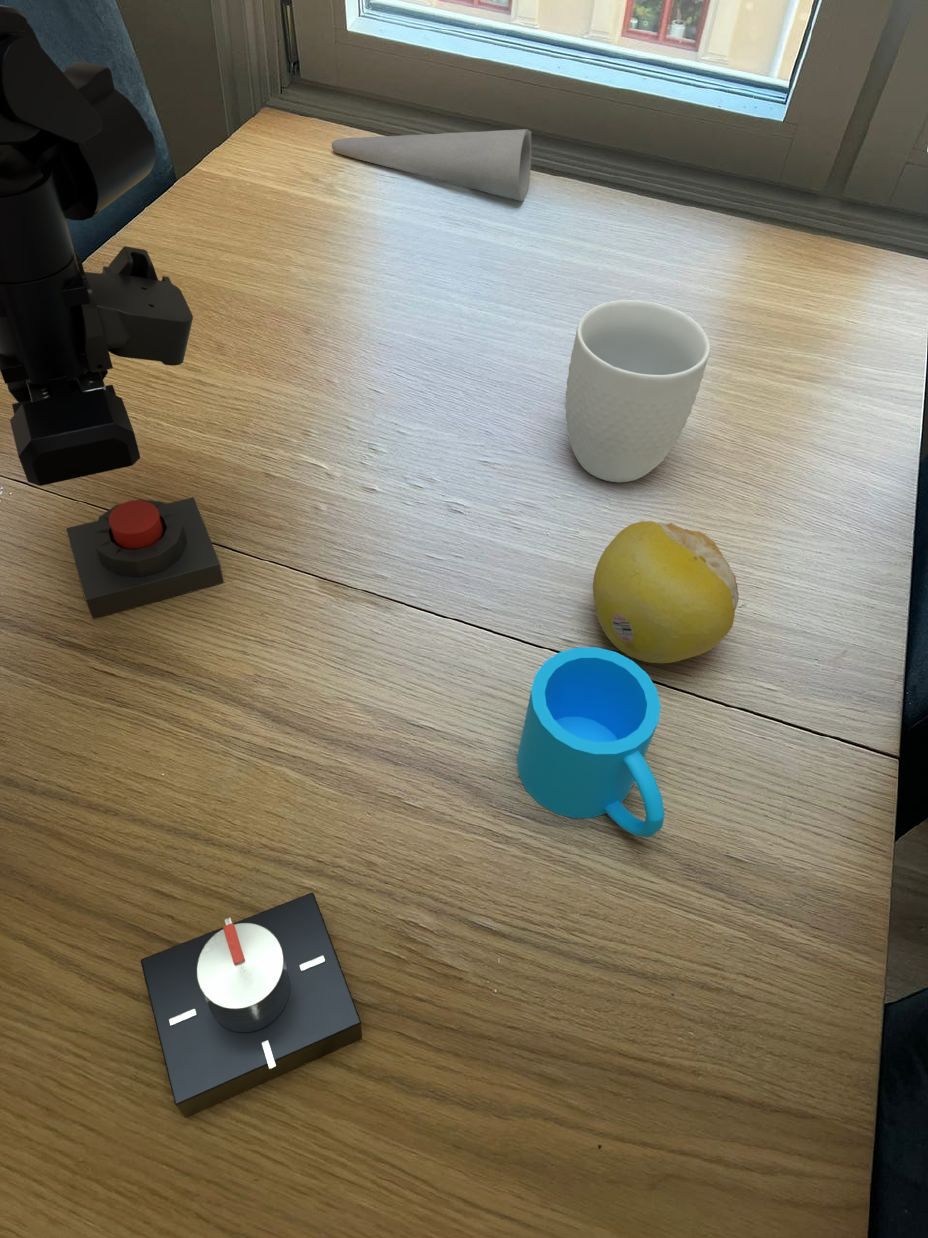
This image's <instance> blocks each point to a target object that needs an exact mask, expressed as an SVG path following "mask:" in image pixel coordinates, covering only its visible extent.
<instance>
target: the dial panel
mask: <svg viewBox="0 0 928 1238" xmlns="http://www.w3.org/2000/svg"><path fill="white" fill-rule="evenodd" d="M223 921H224V924H225V926H226V925H228V924H231V923H234V924H238V923H253V924H257V925H260V926H263V927H265V928H266V929H268V930H269V931H271V932H272V933H273V934H274V935H275V936H276V938H277V939H278V941H279V942H280V944H281V947H282V950H283V954H284V958H285V962H286V967H287V971H288V975H289V980H290V992H289V997H288V1000H287V1003H286V1005H285V1007H284V1009H283V1010H282V1012H281V1013H280V1015H279V1016H278V1017H277V1018H276V1019H275V1020H274V1021H273V1022H271V1023H270V1024H269V1025H267V1026H265V1027H263V1028H261V1029H259V1030H256V1031H252V1032H236V1031H232V1030H229V1029H227V1028H225V1027H223V1026H222V1025H221V1024H220V1023H219V1022H218V1021H217V1020H216V1019H215V1018H214V1017H213V1015H212V1013H211V1011H210V1009H209V1007H208V1005H207V1002H206V1000H205V998H204V996H203V994H202V992H201V990H200V987H199V985H198V981H197V975H196V969H197V962H198V958H199V955H200V953H201V951H202V949H203V947H204V946H205V944H206V943H207V942H208V940H209V939H210V938H211V937H212V936H213V935H215V934H216V933H217V932H219V931H220V930H222V929H223V927H220V928H217V929H215V930H212V931H210V932H208V933H205V934H202V935H200V936H197V937H194V938H192V939H190V940H187V941H185V942H182V943H179V944H176V945H173V946H172V947H171V946H170V947H169V948H167V949H164V950H161V951H159V952H157V953H153V954H151V955H148V956H146V957H143V958H141V959H140V964H141V968H142V972H143V973H142V974H143V978H144V981H145V985H146V990H147V993H148V994H147V995H148V998H149V1002H150V1007H151V1010H152V1014H153V1018H154V1023H155V1027H156V1031H157V1035H158V1039H159V1045H160V1047H161V1048H160V1049H161V1052H162V1056H163V1061H164V1064H165V1069H166V1072H167V1076H168V1082H169V1085H170V1089H171V1093H172V1098H173V1102H174V1105H175V1106H176V1108H177V1109H178V1110H179V1112H180V1113H181V1114H182V1116H183V1117H184V1118H188V1117H190V1116H193V1115H195V1114H197V1113H200V1112H203V1111H204V1110H206V1109H209V1108H210V1107H213V1106H215V1105H218V1104H219V1103H221V1102H224V1101H227V1100H229V1099H230V1098H233V1097H235V1096H237V1095H239V1094H242V1093H244V1092H246V1091H248V1090H251V1089H253V1088H255V1087H257V1086H259V1085H261V1084H264V1083H266V1082H268V1081H270V1080H273V1079H276V1078H277V1077H279V1076H281V1075H284V1074H286V1073H288V1072H290V1071H293V1070H295V1069H297V1068H300V1067H302V1066H304V1065H306V1064H308V1063H310V1062H312V1061H315V1060H317V1059H319V1058H321V1057H324V1056H326V1055H329V1054H330V1053H333V1052H335V1051H337V1050H339V1049H342V1048H344V1047H346V1046H348V1045H350V1044H351V1045H352V1043H353V1044H354V1043H355V1042H358V1041H359V1040H362V1038H363V1030H362V1021H361V1018H360V1014H359V1013H358V1010H357V1007H356V1004H355V1001H354V999H353V996H352V993H351V991H350V988H349V986H348V982H347V980H346V977H345V974H344V971H343V969H342V966H341V964H340V960H339V958H338V955H337V952H336V950H335V948H334V944H333V942H332V938H331V936H330V933H329V931H328V928H327V925H326V923H325V920H324V917H323V915H322V912H321V909H320V906H319V904H318V900H317V898H316V896H315V892H310V893H307V894H305V895H302V896H299V897H297V898H295V899H291V900H289V901H286V902H284V903H282V904H279V905H276V906H274V907H271V908H269V909H266V910H264V911H261V912H259V913H256V914H253V915H251V916H249V917H246V918H242V919H240V920H238V921H235V922H233V921H232V918H231V917H228V918H225V919H224V920H223Z"/></svg>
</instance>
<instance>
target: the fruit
mask: <svg viewBox="0 0 928 1238" xmlns="http://www.w3.org/2000/svg"><path fill="white" fill-rule="evenodd" d="M592 595H593V603H594V609H595V614H596V616H597V619H598V622H599V624H600V626H601V628H602V630H603V632H604V634H605V635H606V637H607V638H608V640H609V641H610V642H611V643H612V644H613V646H615V647H616V648H617V649H618V650H619V651H620V652H622V653H624V654H625V655H627V656H629V657H631V658H633V659H634V660H638V661H642V662H645V663H650V664H651V663H652V664H672V663H676V662H677V663H678V662H680V661H684V660H687V659H690V658H694V657H698V656H700V655H703V654H705V653H708V652H709V651H710V650H712V649H714V648H715V647H716V646H718V645H719V643H721V641H723V640H724V638H726V636H727V635H728V633H730V631H731V629H732V628H733V625H734V620H735V614H736V613H735V612H736V609H737V606H738V604H739V599H740V597H739V588H738V583H737V577H736V575H735V573H734V571H733V570H732V569H731V566H730V564H729V562H728V561H727V559H726V558H725V557H724V554H723V553H722V552H721V550H720V549H719V547H718V545H717V544H716V542H715V541H714V540H713V539H711V538H710V537H709V536H707V534H705V533H703V532H701V531H696V530H689V529H688V528H682V527H681V526H678V525H676V524H673V522H671V523H670V522H661V521H660V522H655V521H653V520H650V521H645V520H642V521H638V522H633V523H632V524H629V525H627V526H626V527H624V528H623V529H621V530H620V531H619V532H618V533H617V534H616V536H614V538H613V539H612V540H611V541H610V542H609V544H607V546H606V547H605V549H604V550H603V552H602V554H601V555H600V557H599V559H598V562H597V564H596V567H595V569H594V574H593V581H592Z"/></svg>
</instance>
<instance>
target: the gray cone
mask: <svg viewBox="0 0 928 1238" xmlns="http://www.w3.org/2000/svg"><path fill="white" fill-rule="evenodd" d="M331 149H332V151H333V152H334V153H336V154H339V155H342V156H346V157H349V158H352V159H356V160H360V161H364V162H366V163H371V164H375V165H379V166H383V167H386V168H391V169H394V170H398V171H402V172H407V173H409V174H410V173H411V174H414V175H418V176H422V177H425V178H430V179H433V180H436V181H441V182H446V183H449V184H452V185H457V186H460V187H465V188H468V189H473V190H477V191H480V192H483V193H484V192H485V193H488V194H490V195H495V196H498V197H503V198H507V199H511V200H515V201H519V202H523V201H525V199H526V197H527V196H526V195H527V192H528V189H529V182H530V176H531V169H532V131H531V130H529V129H528V128H527V129H526V128H525V129H524V128H522V129H502V130H501V129H500V130H488V131H486V130H485V131H467V132H466V131H465V132H464V131H463V132H443V133H442V132H441V133H426V134H406V135H405V134H403V135H402V134H401V135H383V136H382V135H381V136H366V137H365V136H364V137H362V136H361V137H344V138H339V139H335V140H333V141H332V142H331Z"/></svg>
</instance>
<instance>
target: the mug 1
mask: <svg viewBox="0 0 928 1238" xmlns="http://www.w3.org/2000/svg"><path fill="white" fill-rule="evenodd" d="M577 324H578V325H577V327H576V331H575V337H574V342H573V347H572V350H571V355H570V362H569V365H568V375H567V379H566V391H565V403H564V408H565V421H566V430H567V437H568V441H569V443H570V447H571V449H572V452H573V454H574V456H575V458H576V460H577V461H578V463H579V465H580V466H581V467H582V468H583V469H584V470H585V472H587V473H589V474H590V475H591V476H593V477H595V478H597V479H600V480H602V481H606V482H611V483H628V482H633V481H637V480H639V479H641V478H643V477H644V476H646V475H647V474H649V473H650V472H652V471H653V470H654V469H656V468H658V466H659V464H661V463H662V462H663V461H664V460H665V457H667V456H668V455H669V453H670V452H671V450H672V449H673V447H675V444H676V443H677V440H678V439H679V438H680V436H681V435H682V432H683V430H684V428H685V427H686V425H687V422H688V419H689V417H690V415H691V414H692V409H693V406H694V405H695V402H696V398H697V394H698V393H699V391H700V387H701V382H702V381H703V378H704V373H705V370H706V366H707V363H708V360H709V357H710V354H711V343H710V339H709V336H708V334H707V333H706V331H705V330H704V329H703V327H702V326H701V325H700V324H699V323H698V322H697V321H695V319H694V318H692V317H691V316H689V315H688V314H687V313H684V312H683V311H680V310H678V309H676V308H674V307H671V306H669V305H666V304H662V303H658V302H654V301H649V300H643V299H617V300H611V301H606V302H603V303H600V304H598V305H595V306H593V307H592V308H590V309H588V310H587V311H586V312H585V313H584V314H583V315H582V316H581V318H580V319H579V321H578V323H577Z"/></svg>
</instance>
